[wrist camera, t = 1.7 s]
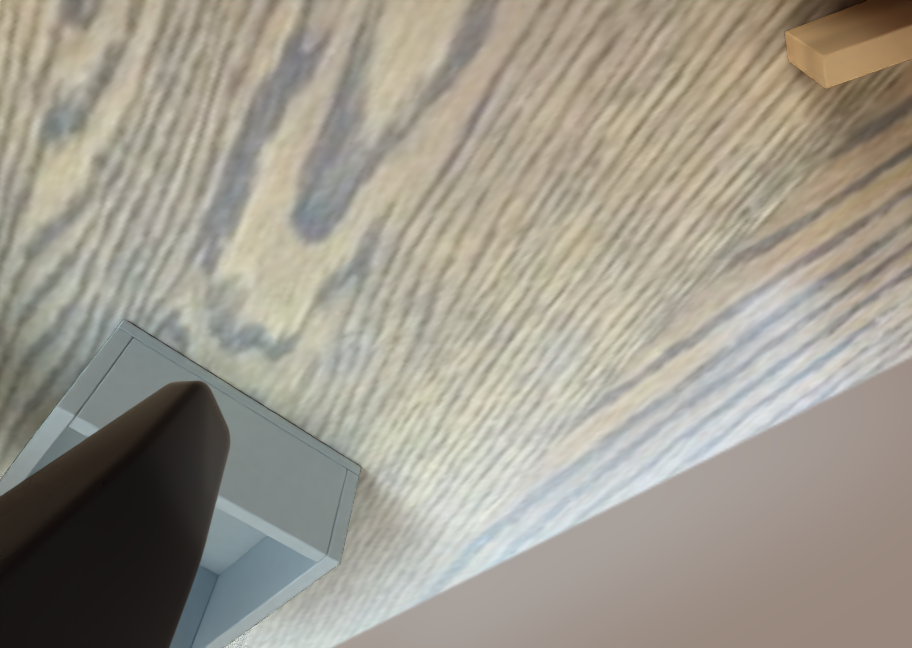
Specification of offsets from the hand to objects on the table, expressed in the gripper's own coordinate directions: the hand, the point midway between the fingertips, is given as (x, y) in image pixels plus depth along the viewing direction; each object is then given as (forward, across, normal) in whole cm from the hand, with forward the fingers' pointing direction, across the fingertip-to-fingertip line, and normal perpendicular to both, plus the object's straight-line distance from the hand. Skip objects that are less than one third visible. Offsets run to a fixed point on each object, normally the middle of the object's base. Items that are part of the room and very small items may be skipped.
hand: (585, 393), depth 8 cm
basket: (+12, +16, +14) cm, 24 cm away
